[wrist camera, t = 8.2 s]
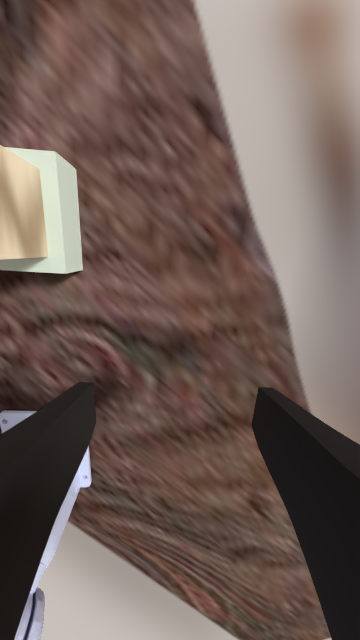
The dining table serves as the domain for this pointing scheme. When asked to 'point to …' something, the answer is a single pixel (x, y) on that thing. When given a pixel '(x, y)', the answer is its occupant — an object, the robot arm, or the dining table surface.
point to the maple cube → (21, 209)
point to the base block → (54, 215)
